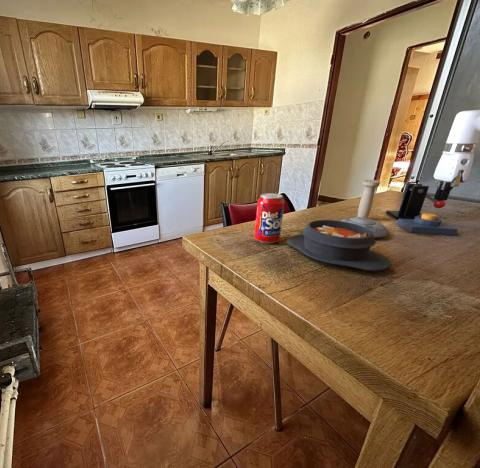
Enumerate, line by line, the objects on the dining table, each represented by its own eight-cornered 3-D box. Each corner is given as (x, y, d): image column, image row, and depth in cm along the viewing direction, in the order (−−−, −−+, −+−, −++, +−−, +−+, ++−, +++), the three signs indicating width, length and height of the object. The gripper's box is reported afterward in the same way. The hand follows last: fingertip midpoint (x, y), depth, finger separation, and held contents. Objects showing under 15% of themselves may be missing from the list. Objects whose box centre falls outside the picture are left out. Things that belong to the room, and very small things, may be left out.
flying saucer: (388, 244, 78) (393, 227, 76) (331, 235, 87) (334, 219, 85) (387, 230, 89) (391, 215, 87) (336, 223, 98) (339, 209, 96)
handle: (370, 218, 101) (381, 180, 96) (367, 222, 97) (378, 183, 91) (356, 216, 104) (365, 179, 99) (352, 220, 100) (362, 181, 95)
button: (431, 218, 89) (432, 213, 88) (437, 221, 86) (439, 216, 85) (418, 217, 90) (419, 212, 89) (424, 220, 87) (426, 215, 86)
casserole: (399, 262, 68) (409, 232, 65) (372, 286, 58) (382, 252, 55) (305, 235, 87) (309, 211, 84) (272, 250, 77) (276, 223, 74)
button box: (437, 226, 91) (441, 215, 90) (455, 235, 83) (460, 223, 82) (396, 224, 95) (400, 213, 93) (410, 232, 87) (414, 221, 85)
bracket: (417, 214, 104) (428, 183, 100) (431, 221, 96) (444, 187, 92) (385, 213, 107) (394, 182, 103) (396, 219, 99) (406, 186, 95)
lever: (436, 208, 100) (444, 201, 98) (441, 210, 97) (450, 203, 95) (407, 190, 100) (414, 183, 99) (411, 192, 97) (419, 184, 96)
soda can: (261, 234, 89) (266, 191, 84) (283, 240, 83) (290, 195, 78) (249, 240, 84) (253, 195, 79) (271, 247, 79) (277, 199, 73)
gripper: (490, 150, 83) (467, 205, 89) (457, 147, 96) (439, 195, 103) (461, 150, 85) (440, 204, 91) (432, 147, 98) (416, 195, 105)
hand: (440, 199), depth 97 cm, fingers closed
